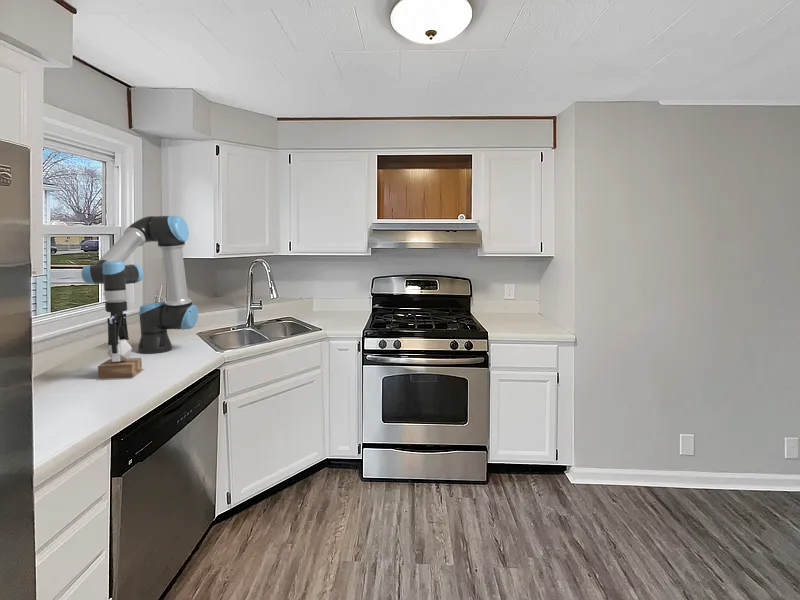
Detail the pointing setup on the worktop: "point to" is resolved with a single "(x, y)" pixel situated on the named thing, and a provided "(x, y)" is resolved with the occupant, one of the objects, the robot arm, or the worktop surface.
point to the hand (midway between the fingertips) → (119, 358)
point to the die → (122, 350)
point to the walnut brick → (120, 368)
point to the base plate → (119, 378)
